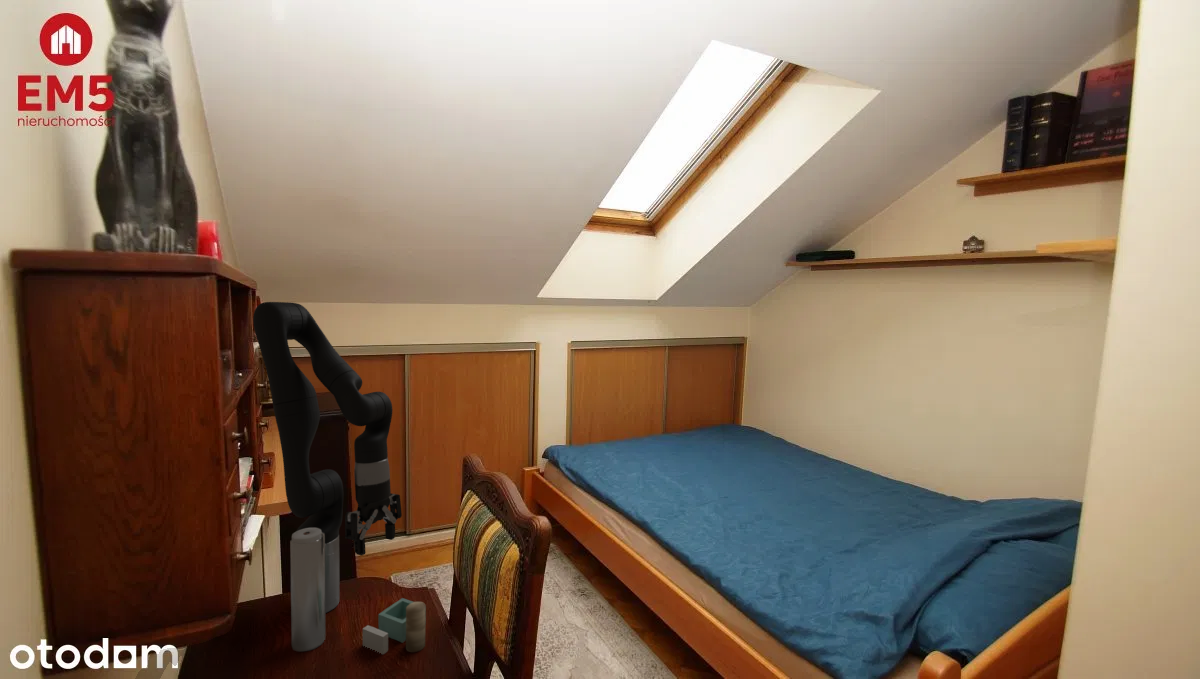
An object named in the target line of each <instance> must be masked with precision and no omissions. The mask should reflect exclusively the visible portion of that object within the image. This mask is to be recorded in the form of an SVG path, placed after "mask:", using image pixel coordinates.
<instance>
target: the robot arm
mask: <svg viewBox="0 0 1200 679" xmlns="http://www.w3.org/2000/svg"><path fill="white" fill-rule="evenodd" d="M252 318H253V319H252V321H253V330H254V333H255V336H256V340H257V341H256V342H257V343H258V347H259V351H260V352H261V353H260V354H261V356H262V360H263V363H264V366H265V370H266V375H267V379H268V384H269V388H270V394H271V401H272V408H273V412H274V413H273V414H274V418H275V422H276V427H277V430H278V436H279V441H280V446H281V447H280V448H281V453H282V460H283V461H282V462H283V474H284V475H283V476H284V486H285V487H284V488H285V496H286V500H287V505H288V508H289V509H290V511H291V512H292V514H293V515H295V517H297V518H301V519H304V518H306V520H304V522H303V523H302V524H300V525H299V526H298V527H297V529H296V531H298V530H301V529H305V528H319V529H321V531H322V532H324V534H325V614H326V613H328V612H331V611H332V610H333V609H335V608H336V607H337V606H338V605H339V602H340V528H341V527H342V524H343V523H342V522H343V509H344V485H343V480H342V479H341V476H340V475H339V473H338V472H337V471H336V470H334V469H330V468H329V469H328V468H326V469H323V470H319V471H316V472H313V473H311V470H310V450H311V447H312V444H313V441H314V438H315V436H316V432H317V431H318V427H319V423H320V419H321V412H320V411H321V410H320V407H319V406H320V405H319V401H318V396H317V391H316V389H315V386H314V385H313V384H312V382H311V381H310V379H309V378H308V377H307V375H305V374H304V372H303V371H302V369H301V368H300V367H299V366H298V365H297V363H296V362H295V360H294V358H293V356H292V354H291V350H290V346H289V341H293V340H294V341H295V342H297V343H298V344H299V345H301V346H302V347H303V348H305V350H306V352H308V354H309V356H310V361H311V367H312V371H313V373H314V376H316V378H317V379H318V381H319V382H320V384H322V385H323V386H324V387H325V389H327V391H328V392H329V393H330V394H332V395H333V397H334V399H335V402H336V403H337V405H338V407H339V410H340V411H341V414H342V416H343V417H344V418H345V420H346V421H347V422H348V423H349V424H351V425H353V426H356V427H364V426H365V427H364V431H362V433H361V434H359V435H358V436H357V437H356V438H355V440H354V442H353V444H354V445H353V448H354V450H353V451H354V468H353V469H354V470H353V474H354V475H353V476H354V490H355V493H354V494H355V501H356V503H357V509H356V510H354V511H347V512H345V514H344V522H345V523H344V538H345V539H346V540H351V541H353V545H354V552H355V554H356V555H359V556H360V557H361V556H364V555H366V553H367V552H366V539H365V536H366V534H367V531H369V530H370V529H371V526H372V525H373V524H376V523H377V522H379V521H382V520H383V521H384V522H385V523H384V529H385V530H384V531H385V532H384V536H385V539H386V540H389V541H392V540H394V539H395V536H396V523H397V520H399V519H401V518H402V516H403V515H402V506H401V505H402V504H401V503H402V502H401V495H400V494H398V493H391V476H390V475H391V474H390V473H391V471H390V464H389V462H390V461H389V457H388V453H389V452H388V451H389V450H388V437H389V433H390V428H391V423H392V418H393V412H394V411H393V404H392V400H391V399H390V397H389V396H388V395H387V394H386V393H385V392H383V391H372V392H368V393H364V394H362V393H361V392H360V390H361V388H362V386H363V379H362V377H361V375H359V373H357V372H356V371H355V370H354V368H352V366H350V365H349V363H348V362H347V361H346V360H345V359H344V358H343V357H342V356H341V355H340V353H338V352H337V350H336V349H335V348H334V346H333V345H332V343H331V342H330V340H329V339H328V337H327V336H326V335H325V333H324V332H323V330H322V328H320V326H319V325H318V323H317V321H316V320H315V319H314V317H313V315H312V314H311V313H310V311H309V310H308V309H307V308H306V307H305V306H303V305H302V304H299V303H297V302H288V301H287V302H285V301H265V302H261V303H259V304H258V305H257V307H255V310H254V312H253V317H252ZM307 517H308V518H307ZM363 522H364V523H365V524H363Z"/></svg>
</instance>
